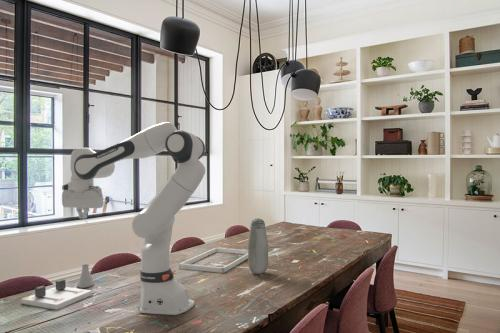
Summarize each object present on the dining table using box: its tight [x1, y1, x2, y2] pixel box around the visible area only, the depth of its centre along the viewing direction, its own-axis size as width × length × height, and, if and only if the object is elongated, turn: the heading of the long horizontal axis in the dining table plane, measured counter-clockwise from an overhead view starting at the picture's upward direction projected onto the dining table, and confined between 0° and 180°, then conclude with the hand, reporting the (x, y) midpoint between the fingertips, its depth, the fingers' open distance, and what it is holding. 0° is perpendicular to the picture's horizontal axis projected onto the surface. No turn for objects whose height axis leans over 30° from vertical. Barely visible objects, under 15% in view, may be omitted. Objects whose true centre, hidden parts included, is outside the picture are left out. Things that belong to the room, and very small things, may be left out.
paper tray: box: [178, 247, 248, 274], centre depth 221 cm, size 27×42×2 cm, turn 157°
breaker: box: [55, 278, 67, 290], centre depth 168 cm, size 2×3×4 cm
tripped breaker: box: [34, 285, 47, 298], centre depth 159 cm, size 2×3×4 cm
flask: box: [77, 263, 95, 289], centre depth 180 cm, size 7×7×10 cm
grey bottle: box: [247, 217, 269, 275], centre depth 194 cm, size 10×10×28 cm
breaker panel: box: [21, 286, 93, 311], centre depth 162 cm, size 20×18×2 cm
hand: (83, 218), depth 163 cm, fingers closed
